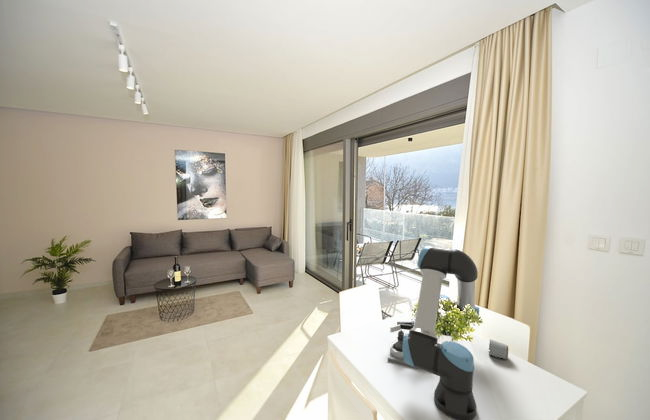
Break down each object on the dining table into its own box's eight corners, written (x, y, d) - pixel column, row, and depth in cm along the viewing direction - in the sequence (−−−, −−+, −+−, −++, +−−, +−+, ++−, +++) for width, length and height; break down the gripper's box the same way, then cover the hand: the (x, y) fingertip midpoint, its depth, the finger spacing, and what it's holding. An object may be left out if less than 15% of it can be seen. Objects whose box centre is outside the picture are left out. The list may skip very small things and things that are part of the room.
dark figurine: (392, 350, 139) (392, 328, 138) (401, 347, 141) (401, 325, 140) (399, 356, 133) (400, 333, 132) (408, 353, 136) (409, 331, 135)
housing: (430, 371, 125) (431, 363, 124) (387, 360, 132) (388, 353, 132) (431, 354, 138) (431, 346, 138) (392, 344, 146) (392, 337, 146)
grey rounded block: (508, 363, 132) (509, 348, 131) (488, 357, 136) (489, 343, 136) (506, 352, 141) (507, 338, 141) (488, 347, 145) (489, 334, 145)
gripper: (448, 345, 135) (418, 356, 126) (411, 323, 158) (383, 331, 148) (448, 331, 135) (418, 341, 125) (412, 311, 157) (384, 318, 147)
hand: (399, 336), depth 136 cm, fingers open, 13 cm apart
